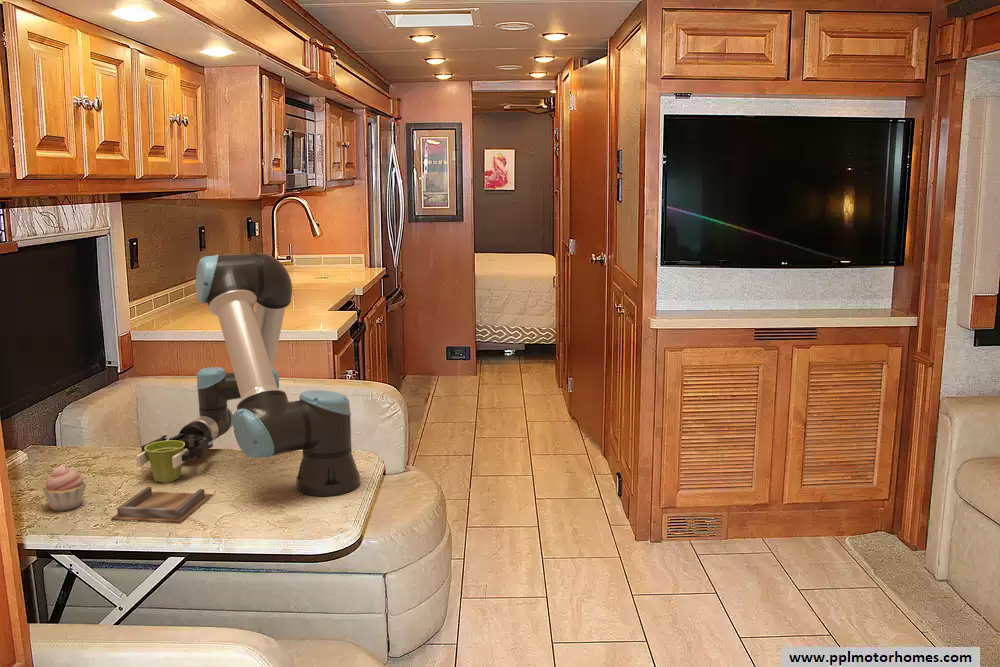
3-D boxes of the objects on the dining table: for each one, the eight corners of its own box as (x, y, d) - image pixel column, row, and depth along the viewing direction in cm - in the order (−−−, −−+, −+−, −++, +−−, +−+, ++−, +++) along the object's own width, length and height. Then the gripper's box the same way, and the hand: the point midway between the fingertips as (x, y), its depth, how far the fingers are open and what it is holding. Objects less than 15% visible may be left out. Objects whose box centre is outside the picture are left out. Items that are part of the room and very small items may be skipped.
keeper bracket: (212, 496, 202) (212, 486, 202) (180, 523, 187) (179, 512, 186) (148, 493, 204) (147, 483, 203) (111, 520, 188) (110, 509, 188)
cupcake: (96, 505, 197) (92, 463, 195) (54, 517, 190) (49, 474, 188) (78, 495, 203) (74, 455, 201) (36, 507, 196) (32, 465, 194)
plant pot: (147, 475, 216) (144, 442, 215) (186, 470, 220) (184, 438, 218) (147, 487, 208) (144, 453, 206) (188, 482, 211) (185, 448, 209)
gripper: (237, 448, 230) (198, 478, 207) (162, 446, 232) (116, 475, 210) (235, 421, 228) (196, 448, 206) (159, 419, 231) (113, 445, 208)
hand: (156, 462), depth 208 cm, fingers closed on plant pot, 8 cm apart
